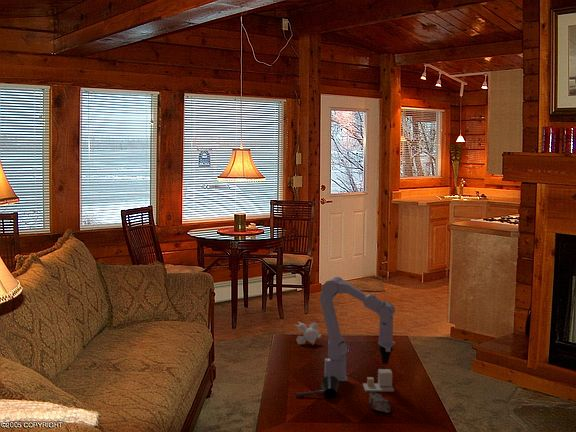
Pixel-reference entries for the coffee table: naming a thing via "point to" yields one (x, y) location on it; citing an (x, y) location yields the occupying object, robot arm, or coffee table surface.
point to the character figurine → (308, 333)
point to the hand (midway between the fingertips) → (385, 363)
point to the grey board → (376, 386)
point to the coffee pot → (325, 388)
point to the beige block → (384, 377)
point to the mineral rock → (379, 402)
